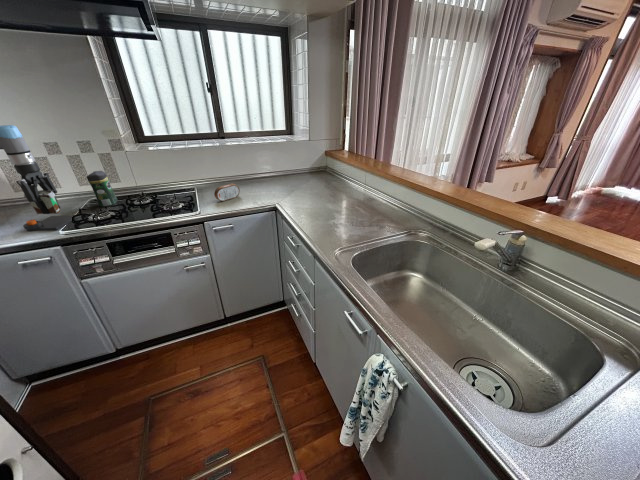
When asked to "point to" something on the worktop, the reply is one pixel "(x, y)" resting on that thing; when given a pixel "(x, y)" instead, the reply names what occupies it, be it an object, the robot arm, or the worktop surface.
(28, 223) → the tare button
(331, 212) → the worktop surface
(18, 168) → the robot arm
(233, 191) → the tin
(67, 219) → the scale
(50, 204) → the food container
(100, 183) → the coffee jar
